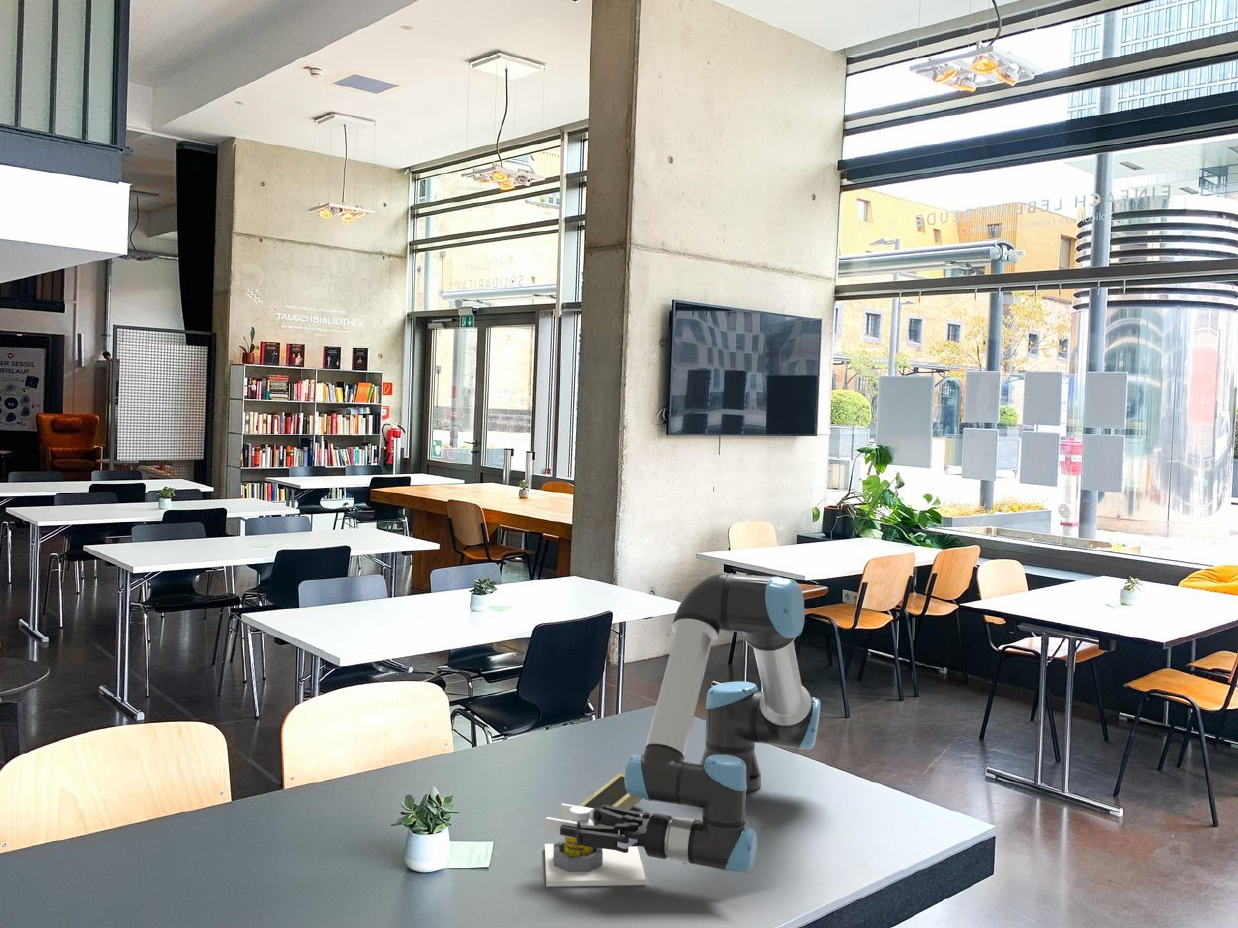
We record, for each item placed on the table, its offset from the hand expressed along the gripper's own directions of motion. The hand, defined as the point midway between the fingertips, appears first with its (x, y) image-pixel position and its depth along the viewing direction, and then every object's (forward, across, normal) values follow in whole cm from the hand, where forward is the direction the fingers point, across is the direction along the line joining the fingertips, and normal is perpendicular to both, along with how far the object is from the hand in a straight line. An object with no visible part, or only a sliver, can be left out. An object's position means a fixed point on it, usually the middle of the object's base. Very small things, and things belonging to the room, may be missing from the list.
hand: (554, 817), depth 186 cm
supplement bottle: (-5, 0, -8) cm, 9 cm away
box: (-2, +24, -9) cm, 26 cm away
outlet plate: (-8, +1, -8) cm, 12 cm away
